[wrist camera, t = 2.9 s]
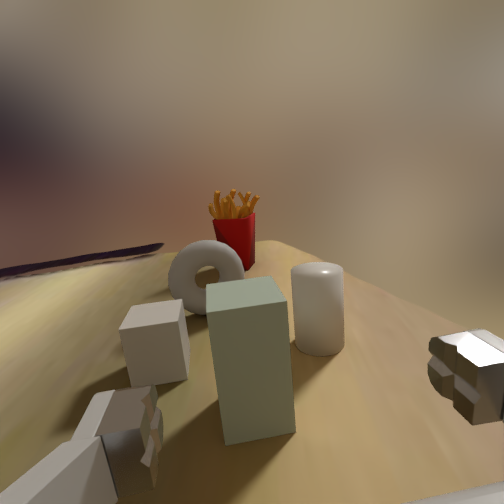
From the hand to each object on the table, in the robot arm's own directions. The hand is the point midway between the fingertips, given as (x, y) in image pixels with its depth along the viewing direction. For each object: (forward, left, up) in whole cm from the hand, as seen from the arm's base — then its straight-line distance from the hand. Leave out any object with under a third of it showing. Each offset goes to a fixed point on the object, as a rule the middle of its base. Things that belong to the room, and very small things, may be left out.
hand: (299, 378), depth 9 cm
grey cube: (-9, +21, -12) cm, 25 cm away
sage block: (-1, +13, -12) cm, 17 cm away
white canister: (+7, +21, -12) cm, 25 cm away
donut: (-4, +32, -12) cm, 34 cm away
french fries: (+2, +50, -12) cm, 51 cm away
